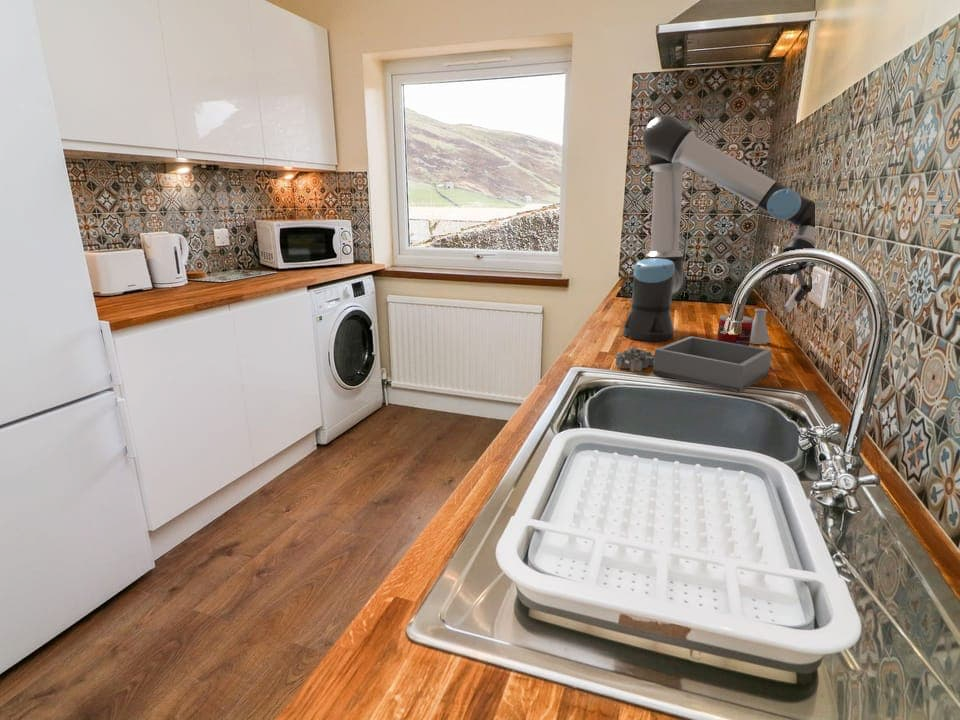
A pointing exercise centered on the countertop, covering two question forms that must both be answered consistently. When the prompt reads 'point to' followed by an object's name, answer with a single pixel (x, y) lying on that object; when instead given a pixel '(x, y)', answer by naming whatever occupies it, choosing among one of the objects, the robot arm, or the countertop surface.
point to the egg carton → (634, 359)
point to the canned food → (736, 339)
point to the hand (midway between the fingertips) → (762, 305)
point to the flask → (759, 328)
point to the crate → (712, 363)
